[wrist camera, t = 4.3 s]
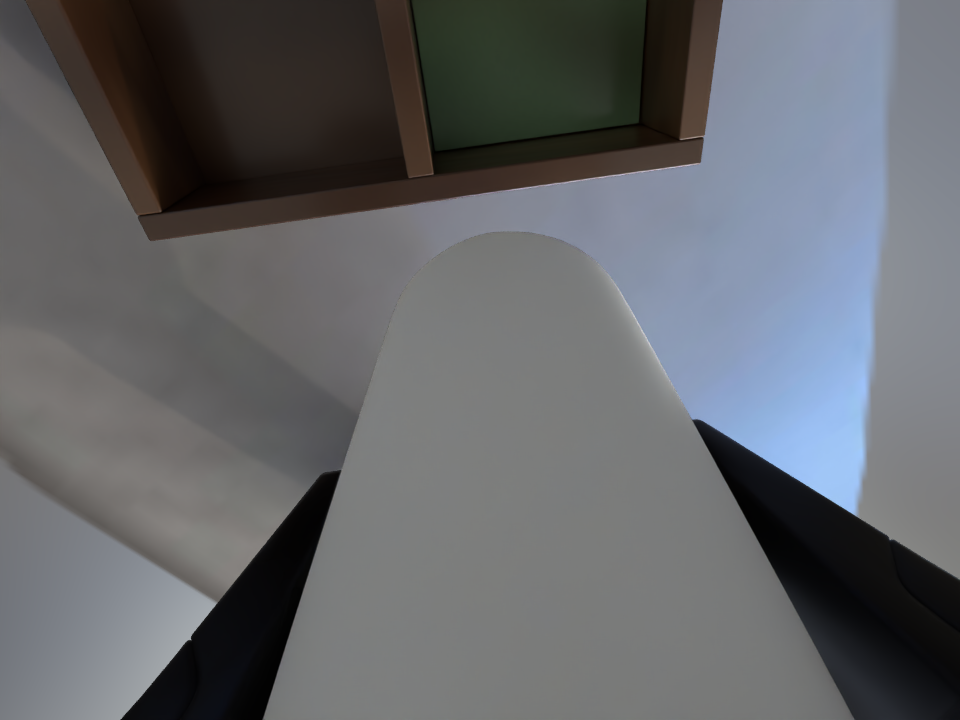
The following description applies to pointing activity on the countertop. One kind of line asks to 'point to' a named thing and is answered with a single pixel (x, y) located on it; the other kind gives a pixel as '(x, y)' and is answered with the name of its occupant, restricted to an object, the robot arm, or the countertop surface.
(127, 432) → the countertop surface
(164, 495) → the countertop surface
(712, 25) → the divided wooden tray
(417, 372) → the can
